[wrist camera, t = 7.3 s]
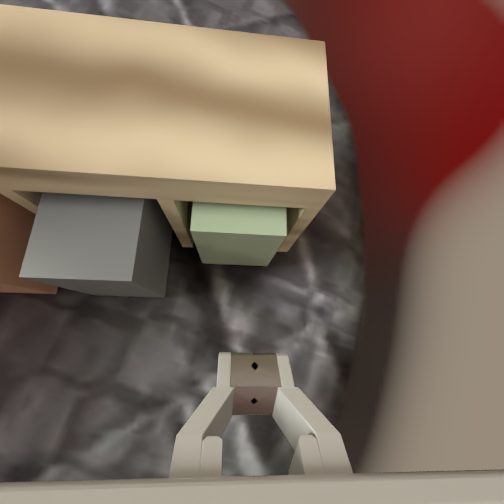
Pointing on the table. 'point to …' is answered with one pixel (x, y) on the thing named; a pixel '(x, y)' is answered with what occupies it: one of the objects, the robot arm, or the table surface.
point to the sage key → (237, 232)
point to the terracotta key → (16, 249)
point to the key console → (163, 115)
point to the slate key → (99, 245)
